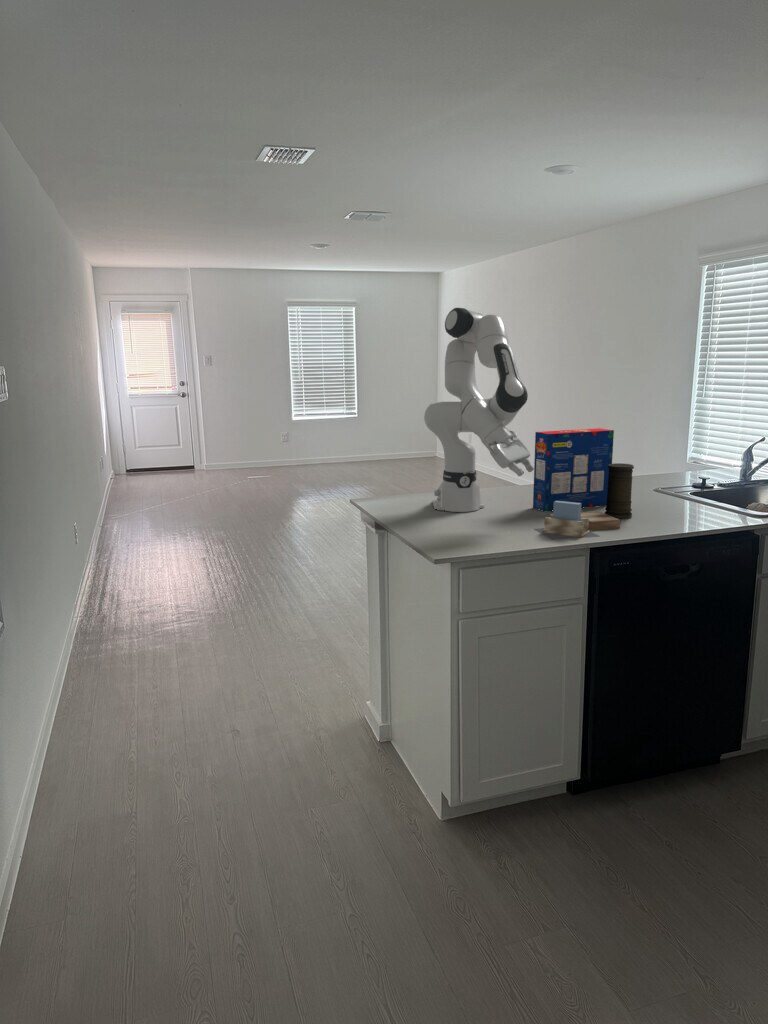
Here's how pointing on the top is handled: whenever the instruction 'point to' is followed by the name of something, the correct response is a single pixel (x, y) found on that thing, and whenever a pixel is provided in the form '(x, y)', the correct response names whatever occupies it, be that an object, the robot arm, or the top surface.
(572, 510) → the light blue square slab
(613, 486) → the container
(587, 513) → the brown flat block
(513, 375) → the robot arm
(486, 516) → the top surface
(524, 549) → the top surface
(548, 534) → the mat
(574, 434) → the blue cardboard box
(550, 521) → the mottled beige block
